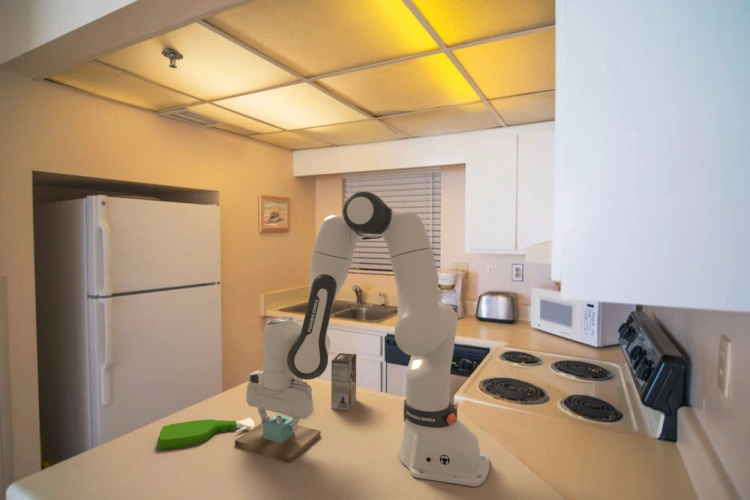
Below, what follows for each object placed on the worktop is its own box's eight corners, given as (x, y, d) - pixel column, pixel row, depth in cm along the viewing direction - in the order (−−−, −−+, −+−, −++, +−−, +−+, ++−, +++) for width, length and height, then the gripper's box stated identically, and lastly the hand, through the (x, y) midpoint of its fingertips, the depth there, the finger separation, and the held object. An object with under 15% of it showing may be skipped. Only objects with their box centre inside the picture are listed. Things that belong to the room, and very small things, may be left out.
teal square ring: (294, 432, 103) (294, 418, 102) (280, 443, 97) (281, 428, 97) (277, 428, 105) (277, 414, 105) (262, 438, 99) (263, 423, 99)
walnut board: (320, 436, 104) (320, 430, 104) (290, 462, 91) (290, 456, 91) (269, 422, 111) (269, 417, 111) (234, 445, 98) (234, 440, 98)
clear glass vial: (283, 436, 101) (283, 414, 101) (279, 439, 100) (279, 417, 100) (278, 435, 102) (278, 413, 102) (274, 437, 101) (274, 416, 101)
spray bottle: (162, 434, 105) (252, 420, 114) (155, 454, 95) (255, 437, 104) (162, 423, 105) (252, 410, 114) (155, 443, 95) (255, 427, 104)
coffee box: (338, 397, 130) (339, 352, 129) (356, 399, 128) (356, 353, 128) (330, 409, 121) (331, 360, 120) (349, 411, 120) (349, 362, 119)
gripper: (318, 379, 99) (317, 429, 100) (258, 367, 108) (258, 414, 108) (304, 387, 94) (304, 441, 94) (242, 374, 102) (242, 424, 102)
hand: (279, 426), depth 101 cm, fingers open, 8 cm apart
